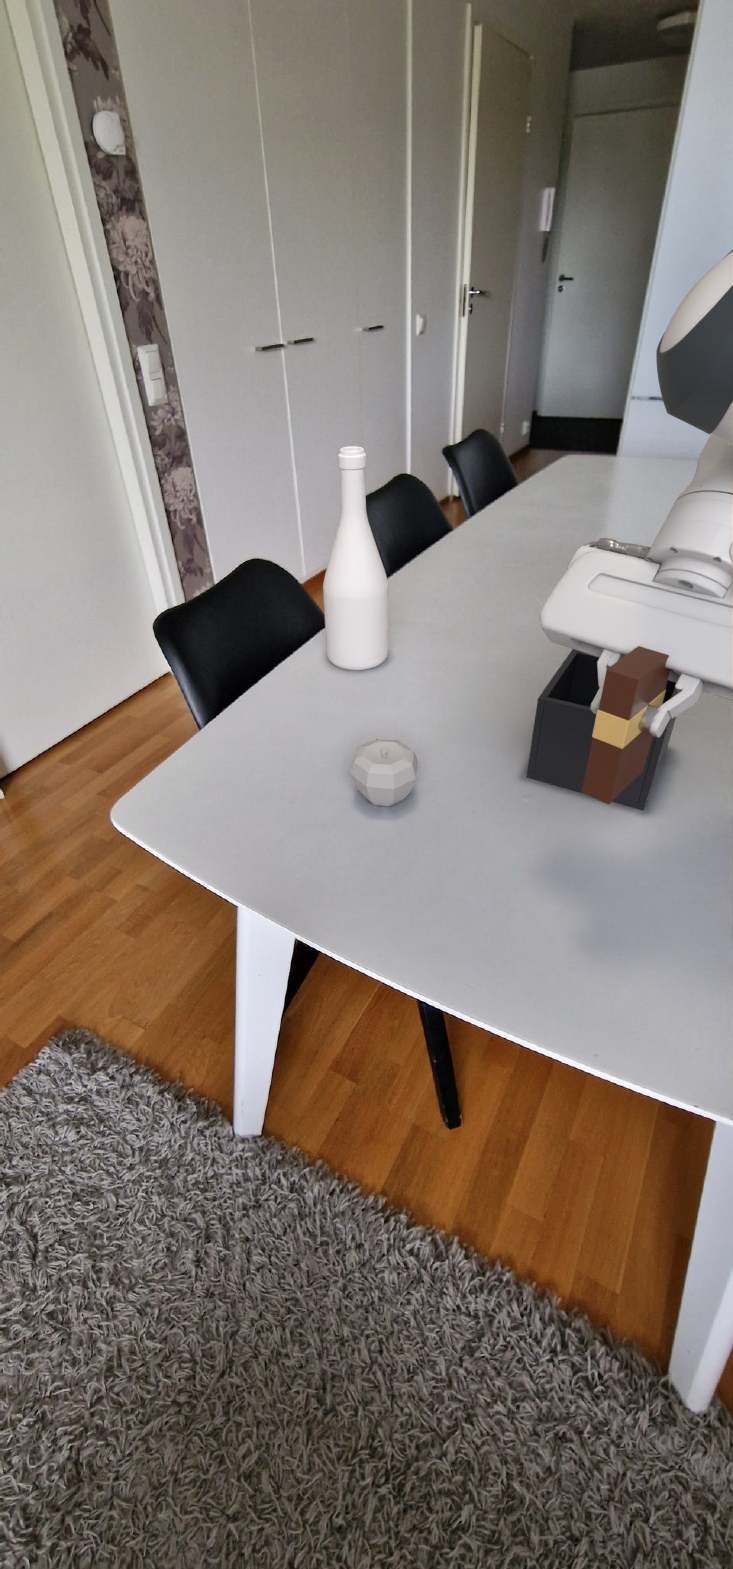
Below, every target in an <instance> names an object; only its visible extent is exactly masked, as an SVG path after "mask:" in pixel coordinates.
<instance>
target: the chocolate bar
mask: <svg viewBox="0 0 733 1569" xmlns="http://www.w3.org/2000/svg"><path fill="white" fill-rule="evenodd" d="M668 657H669V655H667V654H664V653H660V652H657V651H654V650H650V649H647V648H644V647H641V646H638V647H637V648H635V649H634V650H632V651H631V652H630V653H628V654H627V655H626V656H624V657H623V658H622V659H620V660H619V661H618V662H616V663H615V664H613V665H612V666H611V667H609V668H608V669H607V671H606V675H605V680H604V685H603V690H602V695H601V700H600V705H599V709H598V710H597V715H596V719H595V724H594V729H593V734H592V737H593V739H592V744H591V749H590V754H589V758H588V763H587V768H586V773H585V778H584V783H583V788H582V793H581V794H584V795H586V796H587V797H590V798H592V799H595V800H597V801H600V802H602V803H604V804H606V805H610V804H611V803H613V802H612V801H613V800H614V799H615V798H616V797H617V796H618V795H619V794H620V793H621V792H622V791H623V790H624V789H625V788H626V787H627V786H628V785H630V784H631V783H632V782H633V781H634V780H635V779H636V778H637V777H638V776H639V775H640V774H641V773H642V772H643V771H644V767H645V763H646V759H647V756H648V752H649V748H650V744H651V741H652V737H653V736H652V735H650V734H647V733H645V732H642V731H640V728H639V727H638V725H639V721H640V719H641V717H642V716H644V712H645V710H646V708H647V706H648V704H650V705H653V706H656V707H660V706H661V705H662V703H663V699H664V695H665V692H666V690H665V688H666V684H667V680H668V677H669V673H670V669H668V668H666V667H665V665H666V662H667V659H668Z"/></svg>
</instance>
